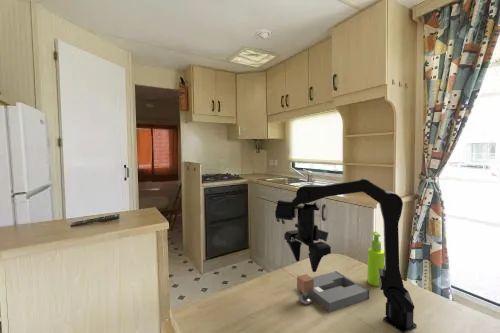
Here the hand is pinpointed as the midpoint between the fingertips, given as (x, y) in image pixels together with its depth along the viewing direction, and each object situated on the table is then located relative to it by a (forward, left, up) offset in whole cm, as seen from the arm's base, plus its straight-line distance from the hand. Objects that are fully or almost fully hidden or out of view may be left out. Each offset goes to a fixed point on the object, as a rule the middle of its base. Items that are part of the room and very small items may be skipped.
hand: (305, 266), depth 84 cm
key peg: (0, 0, -12) cm, 13 cm away
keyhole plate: (0, -12, -12) cm, 17 cm away
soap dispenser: (-1, -34, -13) cm, 36 cm away
